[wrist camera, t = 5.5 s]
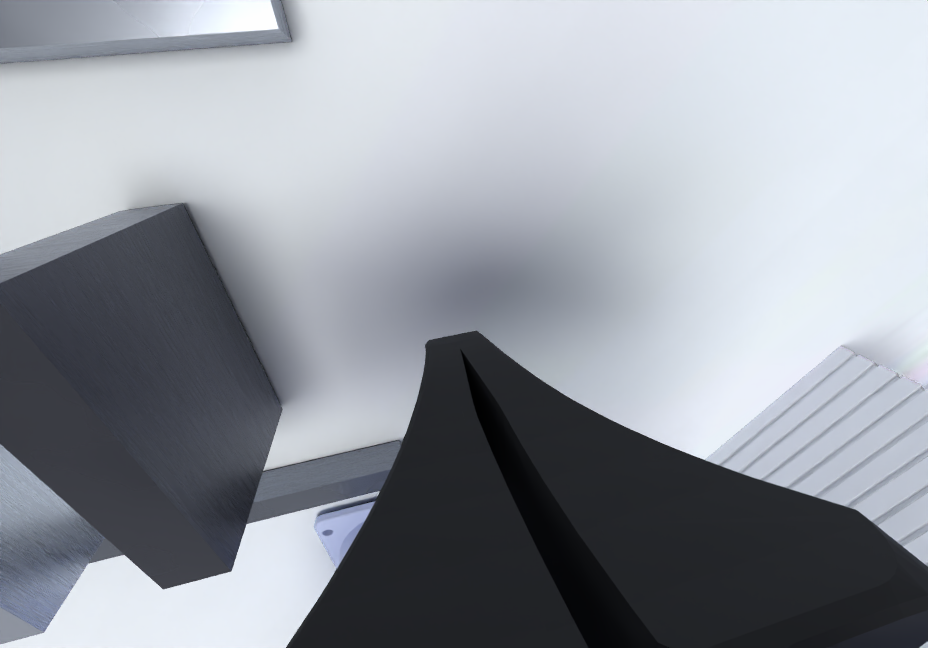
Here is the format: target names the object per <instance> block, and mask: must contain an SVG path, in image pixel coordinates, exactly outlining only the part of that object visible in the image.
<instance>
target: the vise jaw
mask: <svg viewBox="0 0 928 648" xmlns="http://www.w3.org/2000/svg"><path fill="white" fill-rule="evenodd" d="M281 413H282V407H281V405H280V403H279V401H278V399H277V397H276V395H275V393H274V391H273V389H272V386H271V384H270V382H269V380H268V378H267V376H266V374H265V372H264V370H263V368H262V366H261V364H260V362H259V360H258V358H257V356H256V353H255V351H254V349H253V347H252V345H251V343H250V341H249V339H248V337H247V335H246V333H245V331H244V329H243V327H242V325H241V323H240V320H239V318H238V316H237V314H236V312H235V310H234V308H233V306H232V304H231V302H230V300H229V298H228V296H227V294H226V292H225V290H224V287H223V285H222V283H221V281H220V279H219V277H218V275H217V273H216V271H215V269H214V267H213V265H212V263H211V261H210V259H209V257H208V254H207V252H206V250H205V248H204V246H203V244H202V242H201V240H200V238H199V236H198V234H197V232H196V230H195V228H194V226H193V223H192V221H191V219H190V217H189V215H188V213H187V211H186V209H185V207H184V205H183V203H179V204H171V205H164V206H156V207H148V208H140V209H133V210H125V211H119V212H116V213H114V214H111V215H108V216H105V217H103V218H100V219H97V220H94V221H92V222H89V223H86V224H83V225H81V226H78V227H75V228H72V229H70V230H67V231H64V232H61V233H59V234H56V235H53V236H50V237H48V238H45V239H42V240H39V241H37V242H34V243H31V244H28V245H26V246H23V247H20V248H17V249H15V250H12V251H9V252H6V253H4V254H1V255H0V644H3V643H7V642H11V641H15V640H18V639H22V638H26V637H29V636H33V635H37V634H41V633H44V631H45V630H46V628H47V627H48V625H49V624H50V622H51V621H52V619H53V617H54V616H55V614H56V613H57V611H58V610H59V608H60V607H61V605H62V604H63V602H64V600H65V599H66V597H67V596H68V594H69V593H70V591H71V590H72V588H73V586H74V585H75V583H76V582H77V580H78V579H79V577H80V576H81V574H82V572H83V571H84V569H85V568H86V566H87V565H88V563H89V562H90V560H91V558H92V557H93V555H94V554H95V552H96V551H97V549H98V548H99V546H100V544H101V543H102V541H103V540H104V538H106V539H107V540H108V541H110V542H111V543H112V544H113V545H114V546H115V547H116V548H117V549H119V550H120V551H121V552H122V553H123V554H124V555H125V556H126V557H128V558H129V559H130V560H131V561H132V562H133V563H134V564H135V565H137V566H138V567H139V568H140V569H141V570H142V571H143V572H144V573H146V574H147V575H148V576H149V577H150V578H151V579H152V580H153V581H154V582H156V583H157V584H158V585H159V586H160V587H161V588H162V589H167V588H170V587H174V586H178V585H182V584H185V583H189V582H193V581H197V580H201V579H204V578H208V577H212V576H216V575H219V574H223V573H227V572H231V571H232V568H233V565H234V561H235V558H236V555H237V552H238V549H239V546H240V542H241V539H242V536H243V533H244V530H245V527H246V523H247V520H248V517H249V514H250V511H251V508H252V504H253V501H254V498H255V495H256V492H257V489H258V485H259V482H260V479H261V476H262V473H263V470H264V466H265V463H266V460H267V457H268V454H269V451H270V447H271V444H272V441H273V438H274V435H275V432H276V428H277V425H278V422H279V419H280V416H281Z"/></svg>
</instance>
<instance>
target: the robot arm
mask: <svg viewBox="0 0 928 648" xmlns="http://www.w3.org/2000/svg"><path fill="white" fill-rule="evenodd" d="M425 348H426V358H425V366H424V372H423V377H422V382H421V386H420V390H419V394H418V398H417V402H416V405H415V408H414V411H413V414H412V417H411V420H410V423H409V426H408V429H407V432H406V434H405V437H404V440H403V442H402V445H401V447H400V450H399V452H398V454H397V457H396V459H395V461H394V464H393V466H392V468H391V470H390V472H389V474H388V476H387V478H386V481H385V483H384V485H383V487H382V489H381V491H380V493H379V495H378V497H377V499H376V501H374V502H370V503H366V504H362V505H358V506H354V507H350V508H346V509H342V510H338V511H334V512H330V513H327V514H323V515H320V516H319V517H317V518H316V520H315V524H314V528H315V531H316V532H317V534H318V536H319V538H320V540H321V541H322V543H323V545H324V547H325V549H326V550H327V552H328V554H329V556H330V558H331V560H332V561H333V563H334V565H335V567H336V571H335V573H334V575H333V576H332V578H331V580H330V581H329V583H328V585H327V586H326V588H325V589H324V591H323V592H322V594H321V596H320V597H319V599H318V600H317V602H316V603H315V605H314V606H313V608H312V609H311V611H310V612H309V614H308V615H307V617H306V618H305V620H304V621H303V623H302V624H301V626H300V627H299V629H298V630H297V632H296V633H295V635H294V636H293V638H292V639H291V641H290V642H289V644H288V645H287V647H286V648H919V647H921V646H922V645H923V644H925V643H926V642H928V566H927V565H925V564H924V563H923V562H922V561H920V560H919V559H918V558H917V557H915V556H914V555H913V554H912V553H910V552H909V551H908V550H907V549H905V548H904V547H903V546H902V545H900V544H899V543H898V542H897V541H895V540H894V539H893V538H892V537H890V536H889V535H888V534H887V533H885V532H884V531H883V530H882V529H880V528H879V527H878V526H877V525H875V524H874V523H873V522H872V521H870V520H869V519H868V518H867V517H865V516H864V515H863V514H861V513H860V512H859V511H857V510H856V509H852V508H849V507H846V506H843V505H840V504H836V503H833V502H830V501H827V500H824V499H820V498H817V497H814V496H811V495H808V494H804V493H801V492H798V491H795V490H791V489H788V488H785V487H782V486H779V485H775V484H772V483H769V482H766V481H763V480H759V479H756V478H753V477H750V476H747V475H744V474H741V473H739V472H736V471H733V470H731V469H728V468H725V467H722V466H720V465H717V464H714V463H711V462H709V461H706V460H703V459H700V458H698V457H695V456H692V455H690V454H687V453H685V452H682V451H680V450H677V449H675V448H672V447H670V446H667V445H665V444H662V443H660V442H658V441H656V440H653V439H651V438H649V437H647V436H644V435H642V434H640V433H638V432H635V431H633V430H631V429H628V428H626V427H624V426H622V425H620V424H618V423H616V422H614V421H612V420H610V419H608V418H606V417H604V416H602V415H600V414H598V413H596V412H594V411H592V410H591V409H589V408H587V407H585V406H583V405H581V404H579V403H577V402H576V401H574V400H572V399H570V398H569V397H567V396H565V395H564V394H562V393H560V392H559V391H557V390H556V389H554V388H552V387H551V386H549V385H548V384H546V383H545V382H543V381H542V380H540V379H539V378H537V377H536V376H534V375H533V374H532V373H530V372H529V371H528V370H526V369H525V368H523V367H522V366H521V365H519V364H518V363H517V362H515V361H514V360H513V359H511V358H510V357H509V356H507V355H506V354H505V353H504V352H502V351H501V350H500V349H499V348H497V347H496V346H495V345H494V344H493V343H491V342H490V341H489V340H488V339H487V338H485V337H484V336H483V335H482V334H481V333H479V332H478V331H472V332H467V333H462V334H458V335H453V336H448V337H443V338H438V339H433V340H429V341H428V342H427V343H426V345H425Z"/></svg>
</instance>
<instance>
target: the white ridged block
mask: <svg viewBox="0 0 928 648" xmlns="http://www.w3.org/2000/svg"><path fill="white" fill-rule="evenodd" d="M705 460H706V461H709V462H711V463H714V464H717V465H720V466H722V467H725V468H728V469H731V470H733V471H736V472H739V473H741V474H744V475H747V476H750V477H753V478H756V479H759V480H763V481H766V482H769V483H772V484H775V485H779V486H782V487H785V488H788V489H791V490H795V491H798V492H801V493H804V494H808V495H811V496H814V497H817V498H820V499H824V500H827V501H830V502H833V503H836V504H840V505H843V506H846V507H849V508H852V509H856V510H857V511H859V512H860V513H861V514H863V515H864V516H865V517H867V518H868V519H869V520H870V521H872V522H873V523H874V524H875V525H877V526H878V527H879V528H880V529H882V530H883V531H884V532H885V533H887V534H888V535H889V536H890V537H892V538H893V539H894V540H895V541H897V542H898V543H899V544H900V545H902V546H903V547H904V548H905V549H907V550H908V551H909V552H910V553H912V554H913V555H914V556H915V557H917V558H918V559H919V560H920V561H922V562H923V563H924V564H925V565H927V566H928V389H926V390H924V388H923V387H922V385H921V384H919V383H916V382H914V381H912V380H910V379H908V378H906V377H904V376H902V377H901V378H900V377H899V375H898V374H897V373H896V372H894V371H892V370H890V369H888V368H886V367H884V366H882V365H879V366H877V365H876V364H875V362H873V361H871V360H869V359H867V358H865V357H863V356H861V355H858V356H857V355H856V354H855V353H854V352H853V351H851V350H849V349H847V348H845V347H843V346H840V347H838V348H837V349H836V350H835V351H834V352H832V353H831V354H830V355H829V356H828V357H826V358H825V359H824V360H823V361H822V362H821V363H819V364H818V365H817V366H816V367H815V368H813V369H812V370H811V371H810V372H809V373H807V374H806V375H805V376H804V377H803V378H802V379H800V380H799V381H798V382H797V383H796V384H794V385H793V386H792V387H791V388H790V389H788V390H787V391H786V392H785V393H784V394H783V395H781V396H780V397H779V398H778V399H777V400H775V401H774V402H773V403H772V404H771V405H769V406H768V407H767V408H766V409H765V410H764V411H762V412H761V413H760V414H759V415H758V416H756V417H755V418H754V419H753V420H752V421H750V422H749V423H748V424H747V425H746V426H745V427H743V428H742V429H741V430H740V431H739V432H737V433H736V434H735V435H734V436H733V437H731V438H730V439H729V440H728V441H727V442H726V443H724V444H723V445H722V446H721V447H720V448H718V449H717V450H716V451H715V452H714V453H713V454H711V455H710V456H709V457H708V458H707V459H705ZM919 648H928V642H926V643H925V644H923V645H922V646H921V647H919Z"/></svg>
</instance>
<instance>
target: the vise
mask: <svg viewBox="0 0 928 648" xmlns="http://www.w3.org/2000/svg"><path fill="white" fill-rule="evenodd" d="M280 42H292V40H291V36H290V32H289V29H288V25H287V21H286V18H285V14H284V10H283V6H282V3H281V0H0V63H14V62H27V61H40V60H54V59H67V58H80V57H94V56H107V55H120V54H134V53H147V52H160V51H174V50H187V49H200V48H214V47H227V46H240V45H254V44H267V43H280ZM400 447H401V444H400V441H399V440H398V441H394V442H390V443H386V444H381V445H377V446H373V447H368V448H364V449H360V450H355V451H351V452H347V453H343V454H338V455H334V456H330V457H325V458H321V459H317V460H312V461H308V462H304V463H299V464H295V465H291V466H287V467H282V468H278V469H274V470H269V471H265V472H263V473H262V476H261V479H260V482H259V485H258V489H257V492H256V495H255V498H254V501H253V504H252V508H251V511H250V514H249V517H248V520H247V523H246V524H248V523H252V522H256V521H260V520H264V519H268V518H272V517H276V516H280V515H284V514H288V513H292V512H296V511H300V510H304V509H308V508H312V507H316V506H320V505H324V504H328V503H332V502H336V501H340V500H344V499H348V498H352V497H356V496H360V495H364V494H368V493H373V492H377V491H381V489H382V487H383V485H384V483H385V481H386V478H387V476H388V474H389V472H390V470H391V468H392V466H393V464H394V461H395V459H396V457H397V454H398V452H399V450H400ZM120 555H124V554H123V553H122V552H121V551H120V550H119V549H117V548H116V547H115V546H114V545H113V544H112V543H111V542H110V541H108V540H107V539H106V538H104V540H103V541H102V543H101V544H100V546H99V548H98V549H97V551H96V552H95V554H94V555H93V557H92V558H91V560H90V562H89V563H92V562H96V561H100V560H104V559H108V558H112V557H116V556H120Z"/></svg>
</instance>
